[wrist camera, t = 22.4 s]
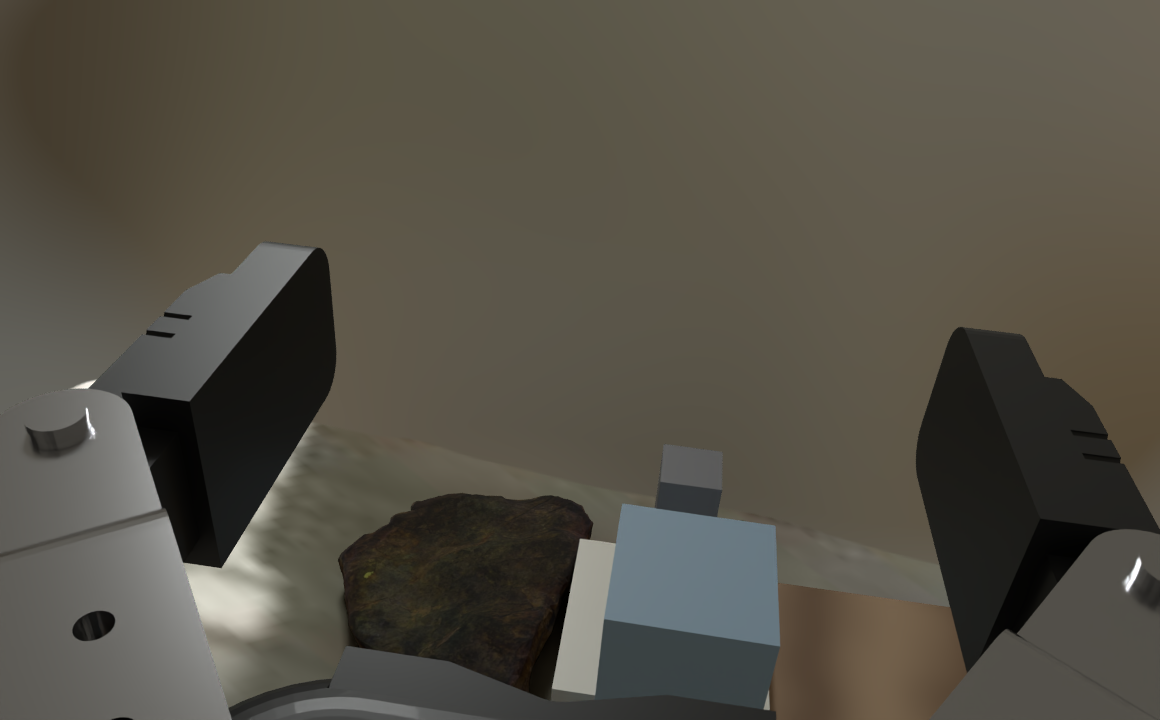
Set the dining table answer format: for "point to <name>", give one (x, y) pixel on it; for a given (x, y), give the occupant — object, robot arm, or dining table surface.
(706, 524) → the block
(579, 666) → the lid
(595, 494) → the dining table surface
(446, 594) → the stone
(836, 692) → the board
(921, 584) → the dining table surface
